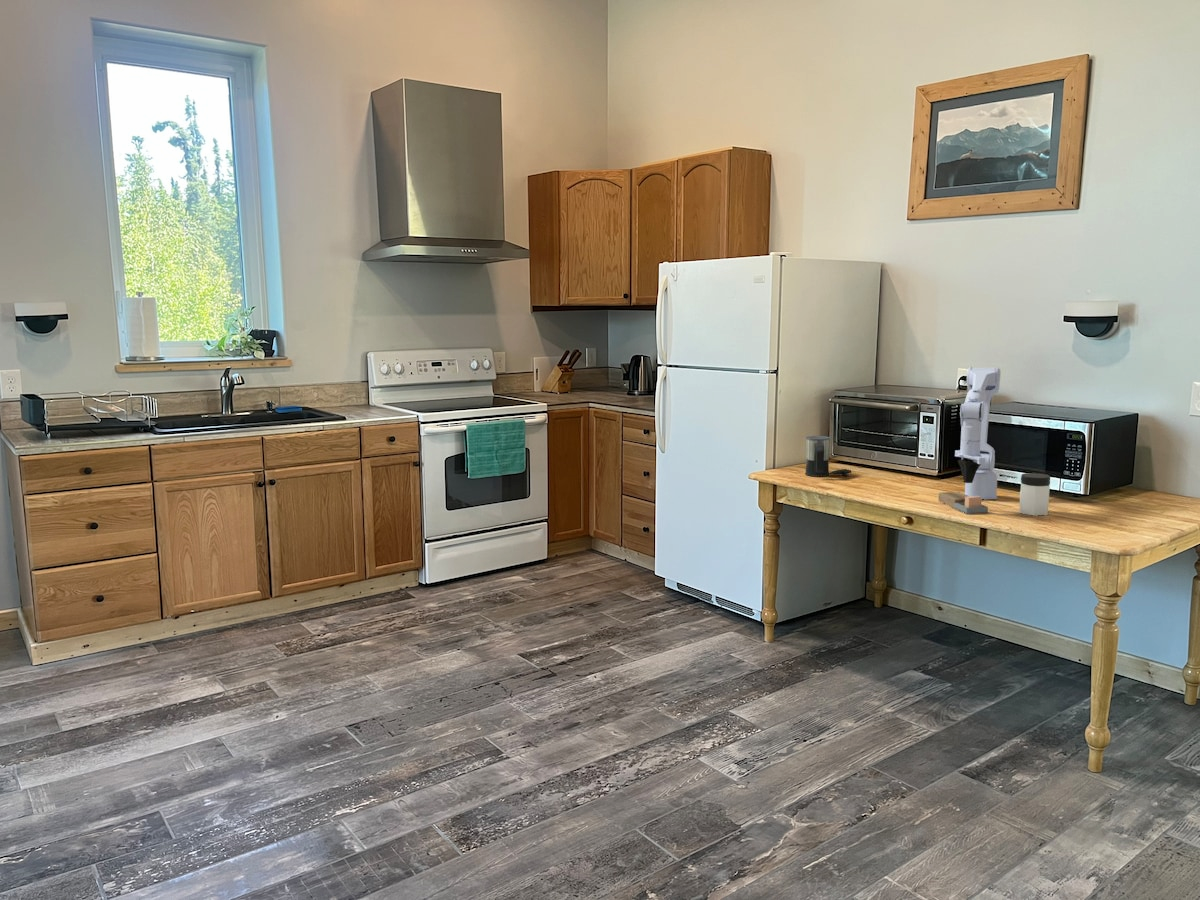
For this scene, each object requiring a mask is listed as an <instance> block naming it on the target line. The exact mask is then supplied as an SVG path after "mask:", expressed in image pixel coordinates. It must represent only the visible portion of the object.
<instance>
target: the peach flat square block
mask: <svg viewBox="0 0 1200 900" xmlns="http://www.w3.org/2000/svg"><path fill="white" fill-rule="evenodd" d="M981 504H982V497H980V496H969V497H965V507H981Z"/></svg>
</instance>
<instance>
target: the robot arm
mask: <svg viewBox="0 0 1200 900" xmlns="http://www.w3.org/2000/svg"><path fill="white" fill-rule="evenodd" d="M966 383H967V389H968V391H967V393H966V396H965V399H964V402H963V403H961V405H960V410H959V411H960V412H959V416H960V427H961V431H960V446H959V447H960V449H958V450H957V449H956V450H954V457H956V458H961V459H957V464H958V465H959V467H960V470H961V473H962V477H963V478H962V479H963V482H964V484H965V485H964V494H965V495H968V496H980V497H982V499H984V500H998V496H997V493H998V491H997V490H998V477H997V473H995V472H994V469H995V464H996V463H995V461H996V457H995V456H996V455H995V453H996V450H995V449H994V447H992V446H991V445H990V444H988V443H987V442H988V430H989V419H990V408H991V401H992V398H993V395H995V394H998V393H999V390H1000V383H1001V369H1000V368H999V367H997V366H996V367H974V366H973V367H972V366H969V367H968V368H967V372H966Z"/></svg>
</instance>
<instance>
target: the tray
mask: <svg viewBox="0 0 1200 900" xmlns="http://www.w3.org/2000/svg"><path fill="white" fill-rule="evenodd" d="M954 508H955V509H954ZM954 508H953V509H954V510H956V509H957V510H956V511H958V510H960V511H959V512H961V511H962V512H961V513H963V512H964V513H963V514H965V513H966V514H965V515H976V514H975V513H982V514H988V512H989V507H988V506H986V505H984V504H982V503H981V507H965V502H958V503H955V506H954Z"/></svg>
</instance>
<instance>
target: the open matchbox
mask: <svg viewBox="0 0 1200 900" xmlns="http://www.w3.org/2000/svg"><path fill="white" fill-rule="evenodd" d="M965 497H969V496H968V495H965V493H962V492H960V491H950V492H948V491H946V492H944V491H943V492H938V502H939V501H940V502H939V503H941V502H943V503H945V504H947V505H949V506H948V507H950V506H951V507H950V508H952V507H953V508H952V509H954V506H955V503H958V502H965ZM943 503H942V504H943ZM945 504H944V505H945ZM947 505H946V506H947Z"/></svg>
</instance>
